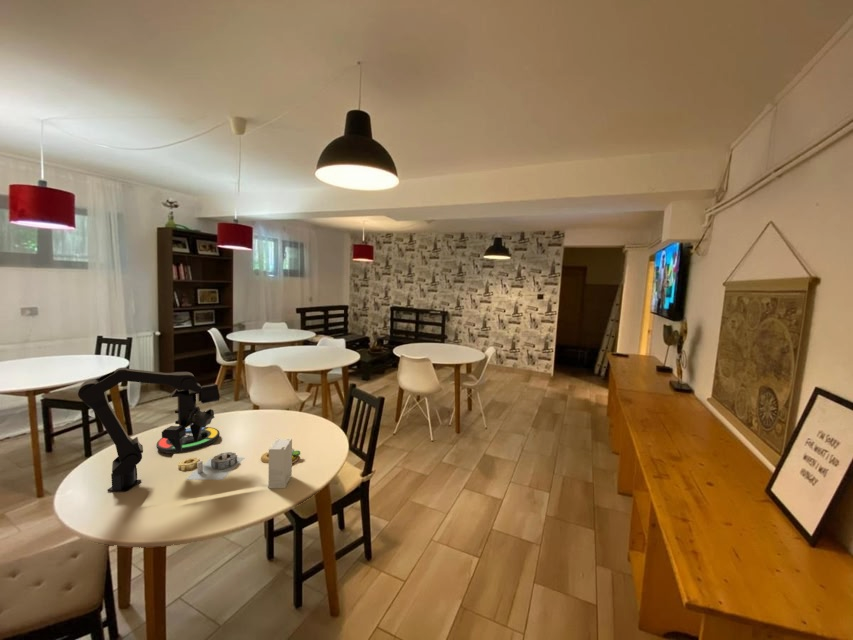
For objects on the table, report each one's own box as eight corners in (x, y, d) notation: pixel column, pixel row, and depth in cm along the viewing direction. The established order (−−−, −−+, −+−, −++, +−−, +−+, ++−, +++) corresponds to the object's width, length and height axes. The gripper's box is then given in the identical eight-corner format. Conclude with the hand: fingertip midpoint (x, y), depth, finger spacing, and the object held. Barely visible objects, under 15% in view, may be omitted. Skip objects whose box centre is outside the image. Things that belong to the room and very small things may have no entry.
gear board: (221, 483, 121) (221, 469, 120) (185, 482, 120) (184, 468, 120) (244, 460, 137) (244, 448, 136) (212, 459, 136) (212, 447, 136)
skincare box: (276, 476, 126) (275, 438, 125) (292, 475, 127) (292, 437, 125) (267, 489, 118) (267, 448, 116) (285, 489, 118) (285, 448, 117)
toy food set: (256, 463, 135) (256, 455, 135) (284, 450, 147) (284, 442, 147) (279, 472, 129) (279, 464, 129) (306, 458, 141) (306, 450, 140)
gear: (235, 467, 129) (235, 460, 128) (209, 472, 125) (209, 464, 125) (238, 457, 137) (238, 450, 136) (213, 461, 133) (213, 453, 133)
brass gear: (192, 473, 126) (192, 466, 126) (173, 473, 126) (173, 465, 126) (203, 464, 133) (203, 457, 132) (186, 464, 133) (186, 456, 132)
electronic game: (231, 434, 160) (230, 425, 160) (193, 458, 137) (192, 447, 137) (186, 431, 162) (186, 421, 162) (141, 454, 140) (141, 443, 139)
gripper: (192, 415, 118) (193, 458, 119) (223, 398, 137) (223, 435, 138) (159, 414, 118) (161, 457, 119) (195, 397, 136) (196, 435, 138)
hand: (188, 445), depth 128 cm, fingers open, 9 cm apart
